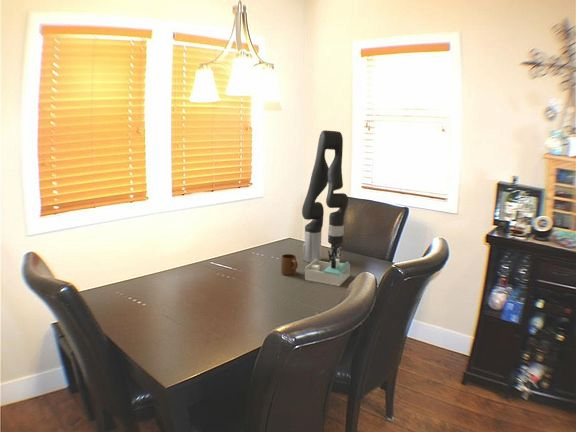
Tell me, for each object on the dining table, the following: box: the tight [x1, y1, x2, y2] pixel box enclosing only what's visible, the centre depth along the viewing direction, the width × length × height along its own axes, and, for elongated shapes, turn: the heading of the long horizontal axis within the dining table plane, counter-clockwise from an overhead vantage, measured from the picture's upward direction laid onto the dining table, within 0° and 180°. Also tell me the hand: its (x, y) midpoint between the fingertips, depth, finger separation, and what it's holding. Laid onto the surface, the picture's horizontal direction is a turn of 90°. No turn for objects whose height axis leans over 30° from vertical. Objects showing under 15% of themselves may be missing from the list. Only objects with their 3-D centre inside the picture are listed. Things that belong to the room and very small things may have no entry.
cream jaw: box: [329, 258, 341, 269], centre depth 222 cm, size 4×4×4 cm
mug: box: [280, 253, 299, 277], centre depth 228 cm, size 12×8×9 cm, turn 30°
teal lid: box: [323, 261, 351, 275], centre depth 222 cm, size 8×15×3 cm, turn 154°
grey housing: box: [304, 259, 351, 287], centre depth 225 cm, size 18×15×6 cm
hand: (334, 266), depth 222 cm, fingers closed on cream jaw, 3 cm apart
